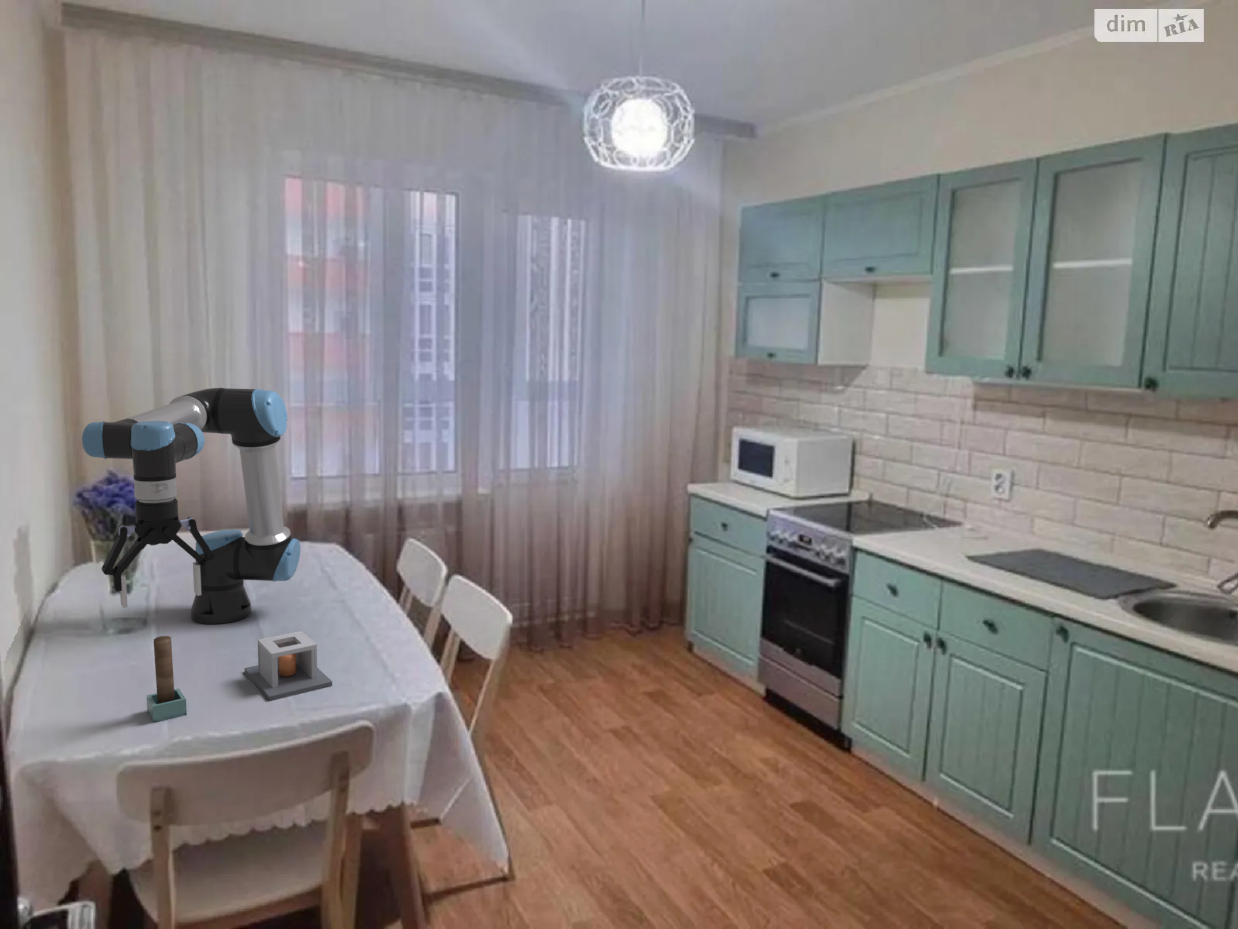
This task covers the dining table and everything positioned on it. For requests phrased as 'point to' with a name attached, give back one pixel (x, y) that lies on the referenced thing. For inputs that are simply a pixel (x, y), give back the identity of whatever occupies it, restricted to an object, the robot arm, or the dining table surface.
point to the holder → (166, 707)
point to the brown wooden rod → (164, 669)
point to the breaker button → (287, 665)
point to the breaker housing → (268, 666)
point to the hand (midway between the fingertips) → (161, 599)
